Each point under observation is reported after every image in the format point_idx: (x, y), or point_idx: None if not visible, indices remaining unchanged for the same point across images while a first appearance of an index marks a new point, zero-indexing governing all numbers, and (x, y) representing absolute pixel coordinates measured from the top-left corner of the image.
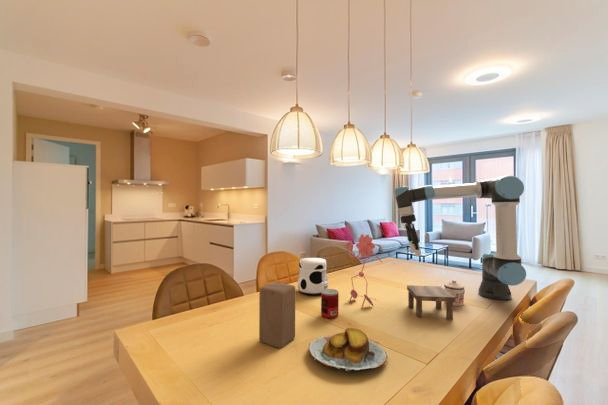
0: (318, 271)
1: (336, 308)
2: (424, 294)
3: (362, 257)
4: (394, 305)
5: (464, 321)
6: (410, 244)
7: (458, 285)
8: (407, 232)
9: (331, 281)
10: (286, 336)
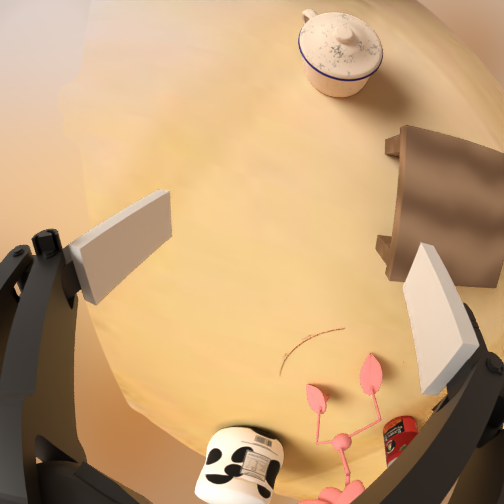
0: (270, 485)
1: (417, 431)
2: (491, 254)
3: (330, 489)
4: (367, 292)
5: (479, 133)
6: (117, 276)
7: (366, 35)
8: (84, 458)
9: (154, 392)
10: None
